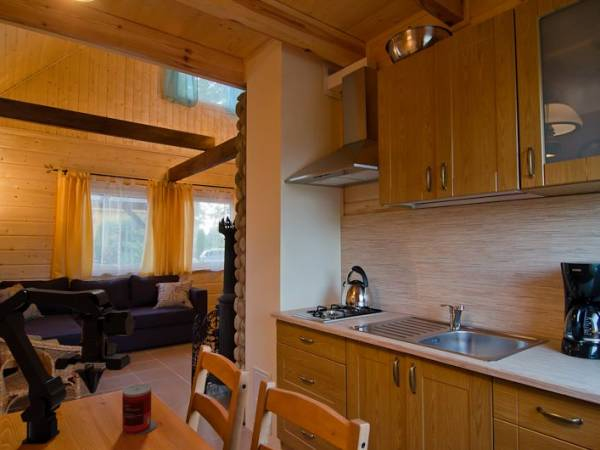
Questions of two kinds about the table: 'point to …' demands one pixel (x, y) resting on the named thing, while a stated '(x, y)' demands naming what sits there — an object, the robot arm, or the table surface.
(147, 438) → the table surface
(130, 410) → the canned food
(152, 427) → the coaster
